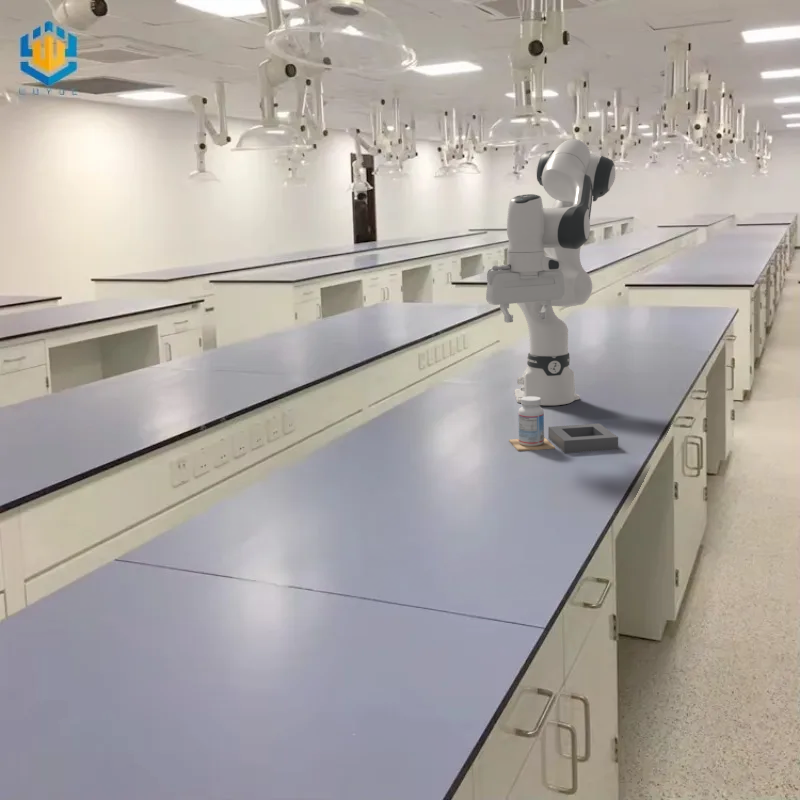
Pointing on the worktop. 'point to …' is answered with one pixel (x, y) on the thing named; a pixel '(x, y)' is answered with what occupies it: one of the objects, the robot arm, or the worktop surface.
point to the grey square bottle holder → (582, 438)
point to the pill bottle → (531, 422)
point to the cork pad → (526, 448)
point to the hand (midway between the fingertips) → (525, 320)
